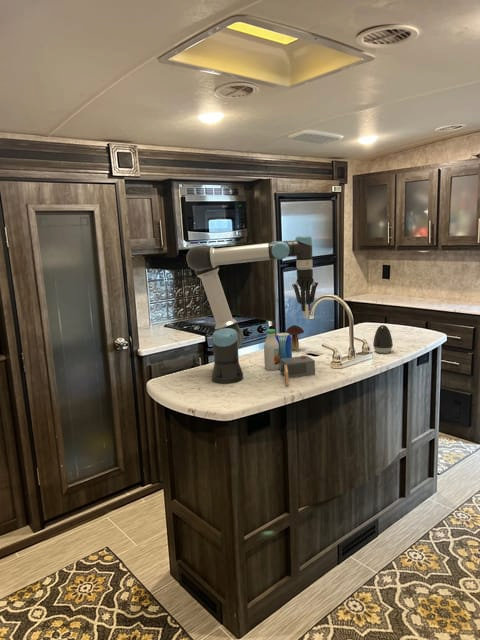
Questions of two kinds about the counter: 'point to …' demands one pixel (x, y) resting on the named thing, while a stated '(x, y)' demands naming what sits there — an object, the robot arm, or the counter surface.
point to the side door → (286, 373)
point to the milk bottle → (271, 351)
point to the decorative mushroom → (295, 335)
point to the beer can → (284, 345)
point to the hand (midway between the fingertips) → (306, 317)
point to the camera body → (298, 366)
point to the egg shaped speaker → (383, 340)
